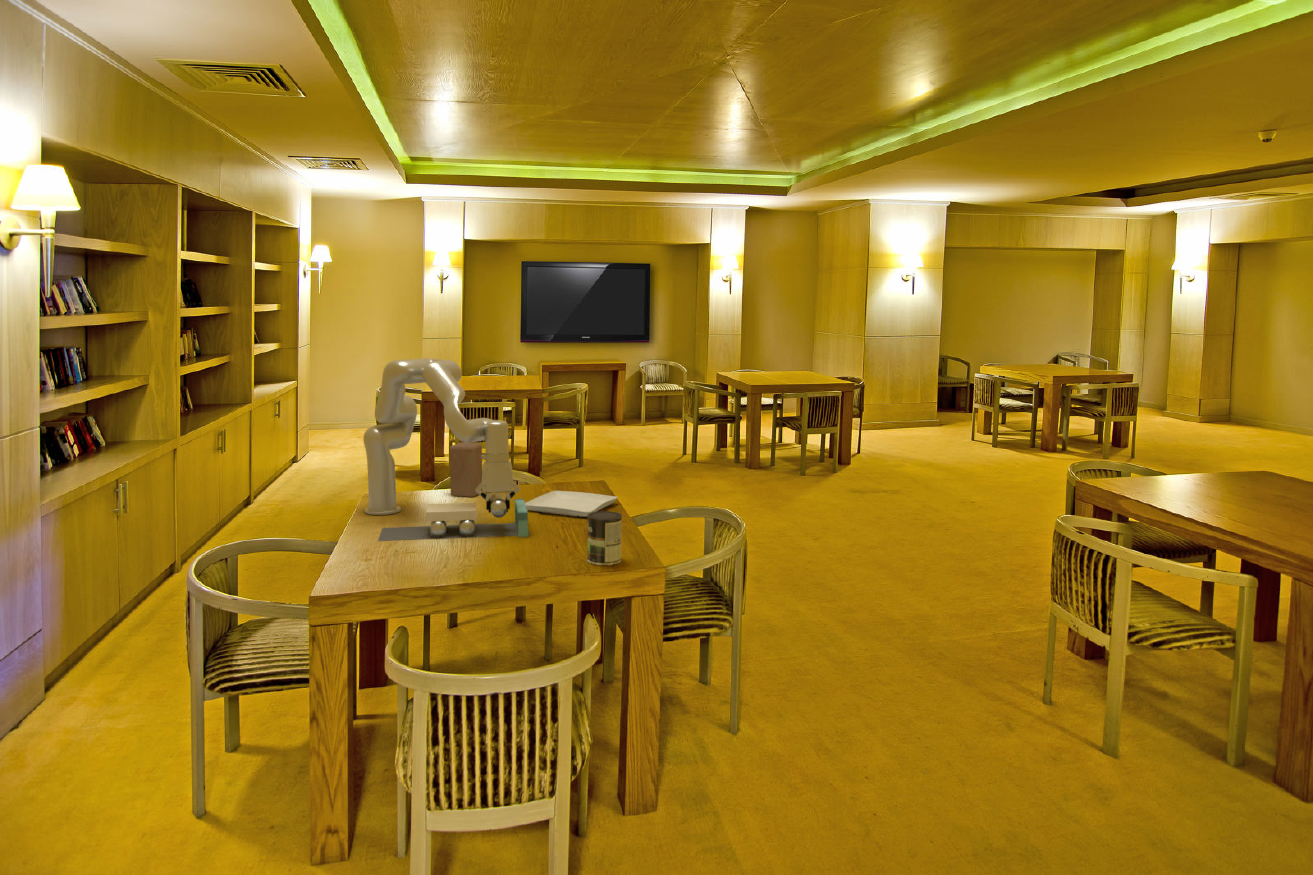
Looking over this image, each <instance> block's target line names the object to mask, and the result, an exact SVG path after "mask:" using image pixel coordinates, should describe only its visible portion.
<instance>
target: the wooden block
mask: <svg viewBox="0 0 1313 875" xmlns="http://www.w3.org/2000/svg"><path fill="white" fill-rule="evenodd" d="M482 445H483V444H481V443H476V442H472V443H464V442H458V443H456V444H454V445H450V447H449V469H450V470H449V472H450V473H449V474H450V479H449V480H450V495H451V497H460V496H463V497H462V498H464V497H465V498H474V497H477V496H478V495H479V494H478V493H477V492H476V491H475V490H476V488H477V487H478V486H479V484H480V483H481V482H482V471H483V459H481V455H483V446H482ZM481 491H482V492H484V491H483V489H481Z"/></svg>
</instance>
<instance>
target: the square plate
mask: <svg viewBox="0 0 1313 875" xmlns="http://www.w3.org/2000/svg"><path fill="white" fill-rule="evenodd" d="M618 498H619V497H618V496H615V495H614V496H613V495H608V494H607V495H606V494H601V493H600V494H598V493H591V492H583V491H582V492H580V491H568V490H567V491H565V490H552V491H550V492H547V493H545V494H541V495H540V496H537V497H535V498H533V499H531V500H528V501H526V502H525V505H526V509H527V511H531V512H532V511H533V512H538V513H541V514H548V513H551V514H550V515H558V514H560V515H561V516H567V515H569V516H570V517H577V516H579V517H583V518H586V517H587V515H588V514H589V513H592V512H598V511H601V510H602V509H604V508H606V507H608V506H610V505H612V504H613V503H614V502H615V501H616V500H618ZM569 516H568V517H569Z"/></svg>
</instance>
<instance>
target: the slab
mask: <svg viewBox="0 0 1313 875" xmlns="http://www.w3.org/2000/svg"><path fill="white" fill-rule="evenodd" d="M477 514H478V512H477V502H459V503H458V502H457V503H456V502H455V503H449V502H448V503H427V505H426V511H425V517H426V518H425V519H426V520H425V522H431V521H447V522H450V521H451V522H452V521H460V520H475V521H476V520H478V515H477Z"/></svg>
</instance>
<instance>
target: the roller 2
mask: <svg viewBox="0 0 1313 875" xmlns="http://www.w3.org/2000/svg"><path fill="white" fill-rule="evenodd" d="M475 521H476V520H459V524H458V525H459V531H460V534H461V535H462V536H464V537H470V536H472V535H473V534H474V533H475V524H476V522H475Z"/></svg>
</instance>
